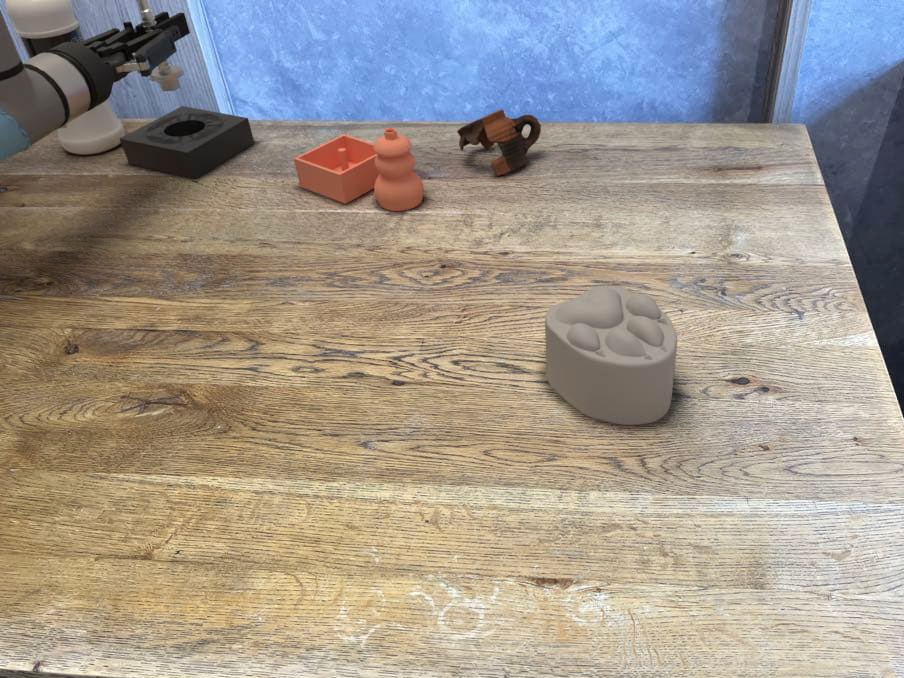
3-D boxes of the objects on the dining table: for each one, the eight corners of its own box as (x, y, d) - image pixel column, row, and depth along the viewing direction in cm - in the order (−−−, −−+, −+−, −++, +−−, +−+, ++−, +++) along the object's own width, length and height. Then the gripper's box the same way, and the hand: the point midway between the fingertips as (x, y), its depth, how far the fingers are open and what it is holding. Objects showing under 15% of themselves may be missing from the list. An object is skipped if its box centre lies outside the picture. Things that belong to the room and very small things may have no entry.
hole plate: (129, 164, 122) (119, 138, 119) (190, 130, 130) (182, 105, 128) (196, 179, 117) (187, 152, 115) (254, 143, 126) (248, 117, 124)
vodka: (59, 141, 129) (-35, -76, 109) (120, 126, 132) (40, -85, 112) (68, 162, 123) (-30, -63, 103) (132, 147, 126) (49, -73, 106)
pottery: (300, 186, 115) (283, 118, 108) (349, 161, 120) (336, 95, 114) (393, 221, 107) (382, 150, 100) (441, 193, 112) (433, 123, 106)
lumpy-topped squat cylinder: (610, 334, 87) (612, 264, 81) (698, 395, 79) (708, 323, 74) (532, 373, 83) (529, 302, 77) (618, 443, 75) (621, 370, 69)
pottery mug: (480, 186, 114) (454, 129, 112) (472, 187, 123) (448, 134, 121) (557, 150, 115) (533, 93, 113) (543, 153, 124) (521, 100, 122)
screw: (158, 97, 114) (148, 87, 117) (192, 88, 116) (182, 79, 119) (124, -4, 105) (114, -12, 108) (161, -11, 107) (151, -19, 110)
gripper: (27, 109, 103) (140, 46, 120) (129, 118, 100) (231, 53, 116) (-1, 47, 98) (121, -9, 115) (105, 55, 95) (215, -4, 111)
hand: (176, 22), depth 115 cm, fingers closed on screw, 2 cm apart
